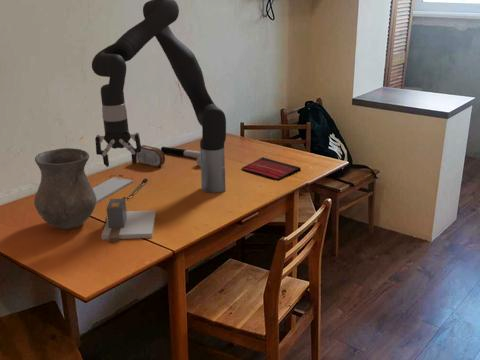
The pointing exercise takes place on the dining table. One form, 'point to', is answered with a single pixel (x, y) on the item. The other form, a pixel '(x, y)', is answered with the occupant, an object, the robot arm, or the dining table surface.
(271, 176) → the binder
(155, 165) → the tin
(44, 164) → the vase
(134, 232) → the board
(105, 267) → the dining table surface
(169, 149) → the claw hammer
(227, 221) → the dining table surface
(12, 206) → the dining table surface
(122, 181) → the baseboard molding
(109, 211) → the block
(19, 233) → the dining table surface
